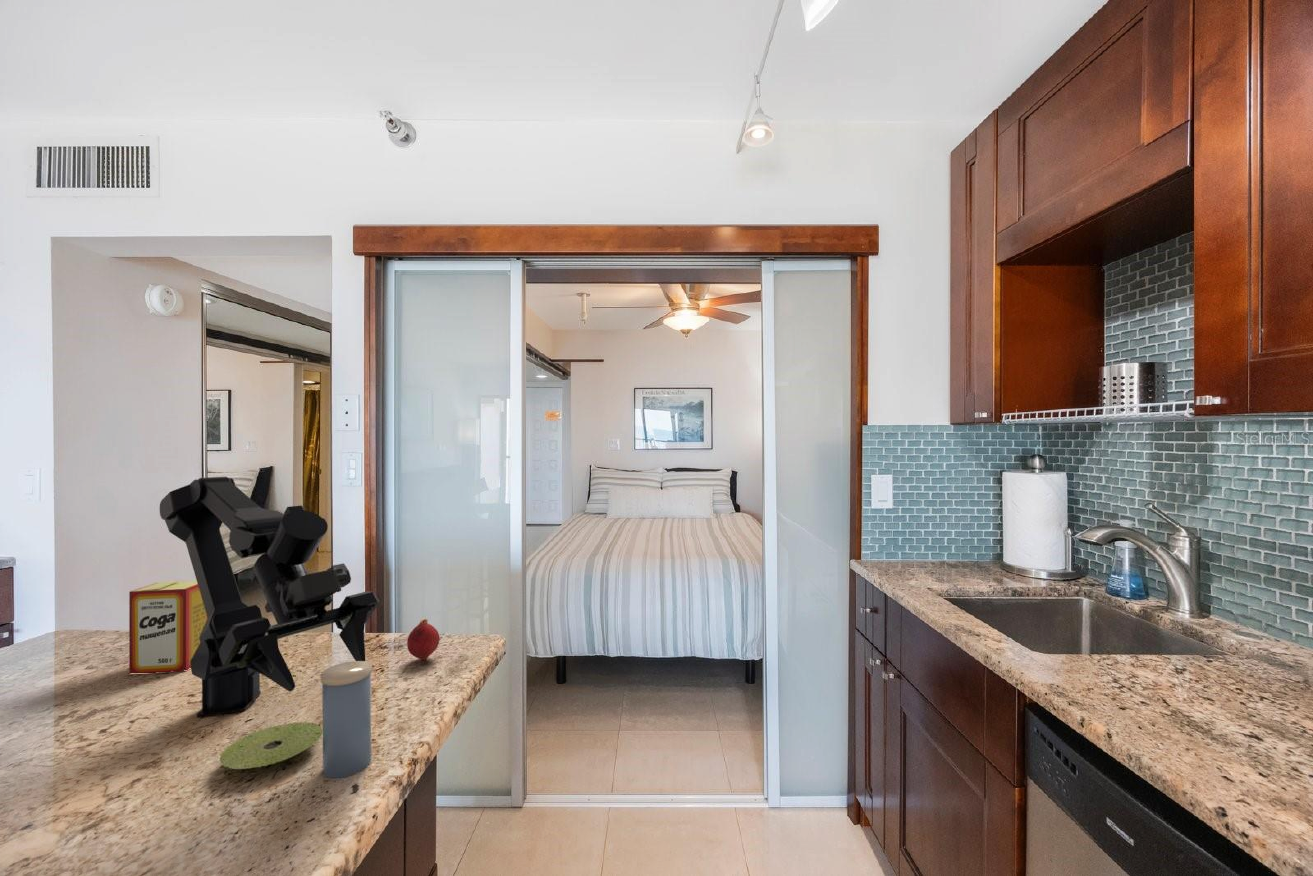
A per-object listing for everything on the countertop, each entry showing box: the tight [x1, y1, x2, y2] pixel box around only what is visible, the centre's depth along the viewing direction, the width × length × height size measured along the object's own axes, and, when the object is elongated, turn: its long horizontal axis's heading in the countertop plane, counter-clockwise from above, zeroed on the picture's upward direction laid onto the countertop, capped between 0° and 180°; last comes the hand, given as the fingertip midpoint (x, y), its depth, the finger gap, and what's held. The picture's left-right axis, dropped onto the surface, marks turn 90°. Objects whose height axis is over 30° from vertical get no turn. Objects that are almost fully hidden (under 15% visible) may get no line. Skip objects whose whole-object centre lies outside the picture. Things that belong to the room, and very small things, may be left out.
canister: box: [320, 660, 373, 779], centre depth 70 cm, size 6×6×12 cm
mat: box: [219, 721, 323, 770], centre depth 72 cm, size 11×11×2 cm
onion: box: [406, 618, 441, 661], centre depth 104 cm, size 6×6×8 cm
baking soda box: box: [128, 580, 207, 674], centre depth 103 cm, size 10×6×16 cm
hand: (329, 675), depth 72 cm, fingers open, 9 cm apart
